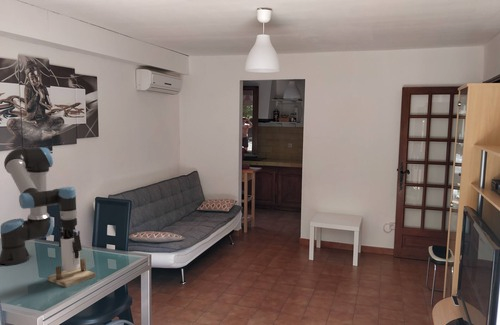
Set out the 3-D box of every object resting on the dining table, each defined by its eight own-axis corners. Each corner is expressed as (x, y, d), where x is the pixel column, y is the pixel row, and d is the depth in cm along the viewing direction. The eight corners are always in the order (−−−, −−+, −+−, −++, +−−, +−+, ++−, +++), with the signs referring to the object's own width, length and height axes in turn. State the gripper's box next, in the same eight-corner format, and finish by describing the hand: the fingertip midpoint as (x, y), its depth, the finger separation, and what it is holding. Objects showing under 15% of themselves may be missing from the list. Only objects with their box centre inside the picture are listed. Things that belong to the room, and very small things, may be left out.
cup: (68, 272, 200) (67, 240, 199) (58, 269, 205) (57, 237, 203) (83, 267, 207) (81, 236, 206) (73, 264, 212) (71, 233, 210)
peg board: (47, 280, 204) (46, 264, 204) (76, 270, 218) (75, 256, 217) (66, 287, 196) (65, 271, 195) (95, 276, 209) (94, 261, 208)
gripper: (49, 217, 206) (52, 261, 208) (74, 222, 195) (76, 268, 197) (63, 214, 212) (65, 256, 215) (88, 219, 201) (90, 264, 203)
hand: (70, 262), depth 206 cm, fingers closed on cup, 8 cm apart
